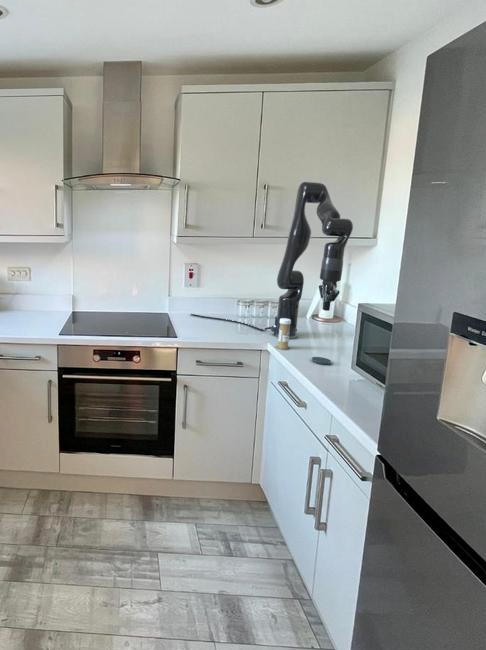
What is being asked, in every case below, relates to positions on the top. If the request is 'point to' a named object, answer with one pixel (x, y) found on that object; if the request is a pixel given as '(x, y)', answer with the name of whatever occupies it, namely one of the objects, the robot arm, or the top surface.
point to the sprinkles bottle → (284, 333)
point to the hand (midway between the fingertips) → (325, 310)
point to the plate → (321, 360)
